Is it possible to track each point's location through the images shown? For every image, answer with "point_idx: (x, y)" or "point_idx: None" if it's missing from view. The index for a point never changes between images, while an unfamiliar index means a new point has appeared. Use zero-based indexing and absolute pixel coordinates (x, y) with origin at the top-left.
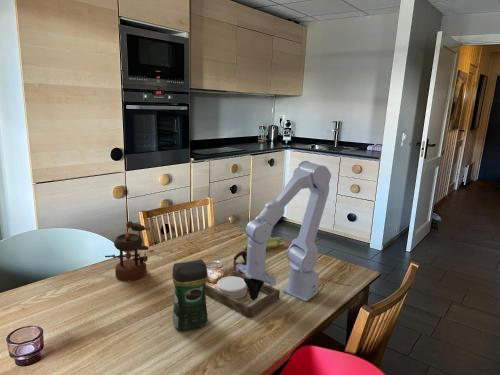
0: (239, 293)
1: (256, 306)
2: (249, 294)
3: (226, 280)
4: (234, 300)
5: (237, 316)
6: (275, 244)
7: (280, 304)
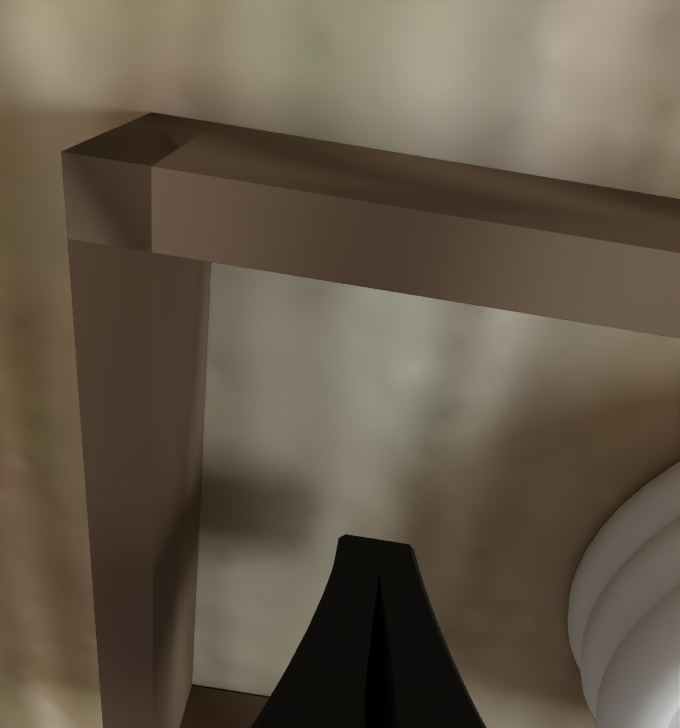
0: (651, 578)
1: (89, 364)
2: (427, 605)
3: None
4: (629, 273)
5: (384, 18)
6: None
7: (66, 629)
